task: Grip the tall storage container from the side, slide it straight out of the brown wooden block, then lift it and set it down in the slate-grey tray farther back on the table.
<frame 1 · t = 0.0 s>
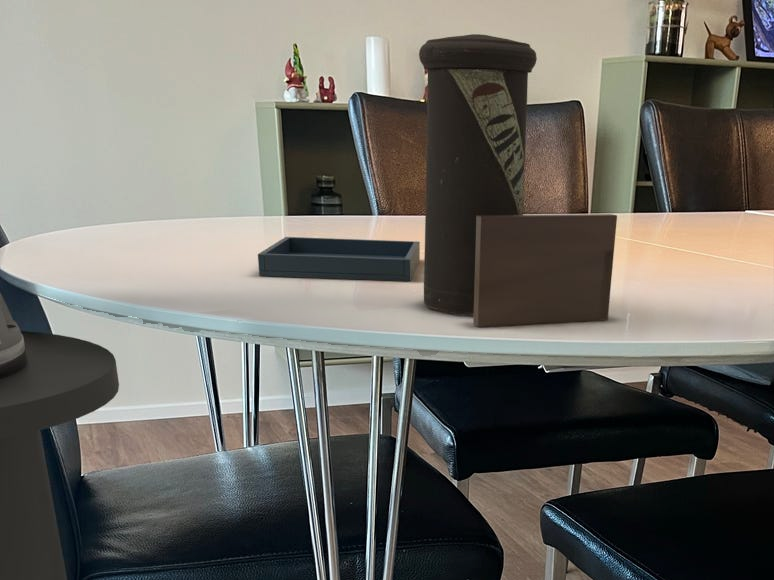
tray: (344, 267, 103), on the table
brown wooden block: (471, 307, 85), on the table
container: (471, 310, 85), on the table
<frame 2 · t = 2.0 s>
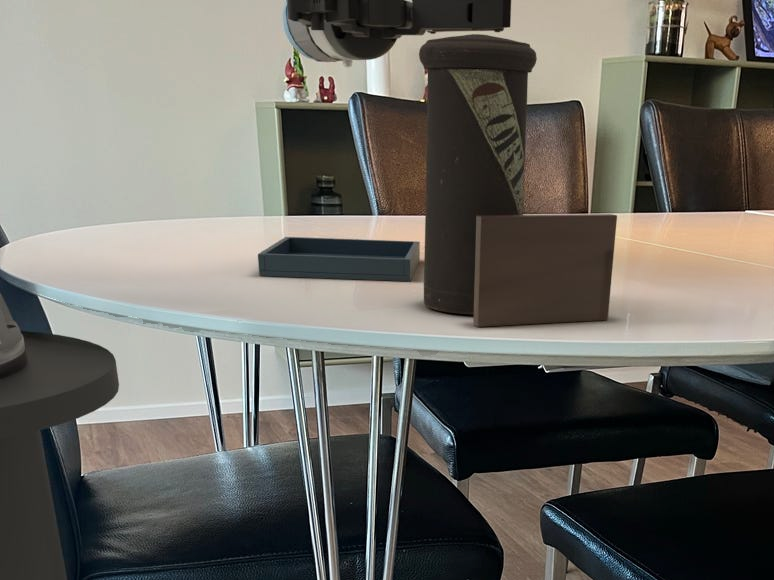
hand: (432, 3, 82), 23 cm above the table, tool horizontal, fingers open, 13 cm apart
nothing on the table moved.
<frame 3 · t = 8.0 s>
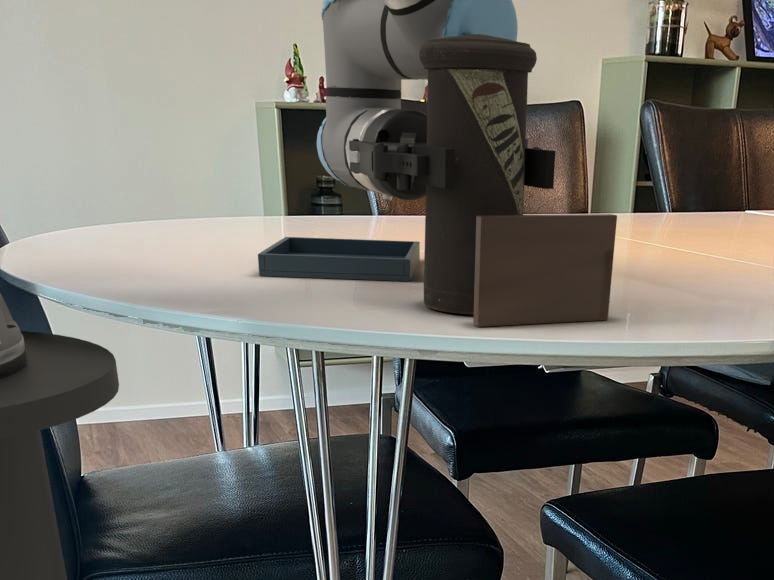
hand: (501, 169, 76), 11 cm above the table, tool horizontal, fingers closed on container, 8 cm apart
container: (471, 309, 85), on the table, touching gripper
when the fingers open (12 cm above the table, at t = 17.2 s): container stays where it is, resting on tray.
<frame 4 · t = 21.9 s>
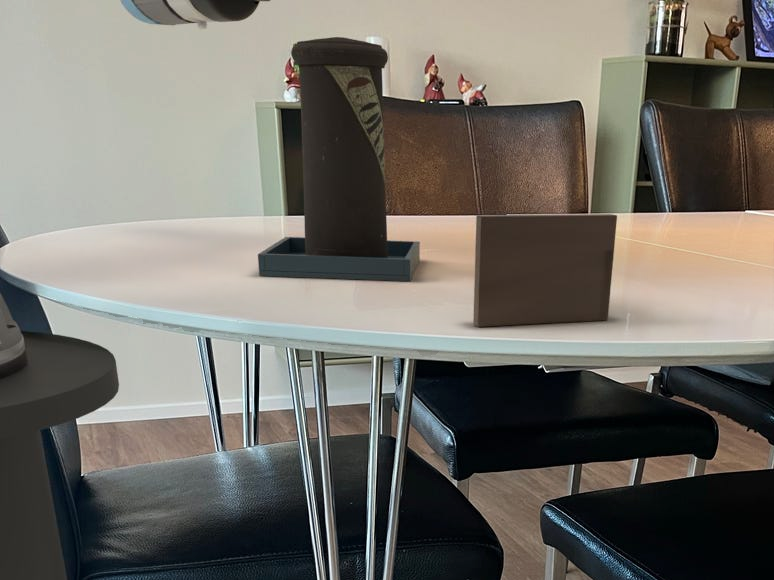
container: (346, 265, 103), resting on tray
at the end: container moved 24.4 cm from its start; container 0.3 cm off-centre in the tray, point 0.3 cm above the tray's base; container tilted 0° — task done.
